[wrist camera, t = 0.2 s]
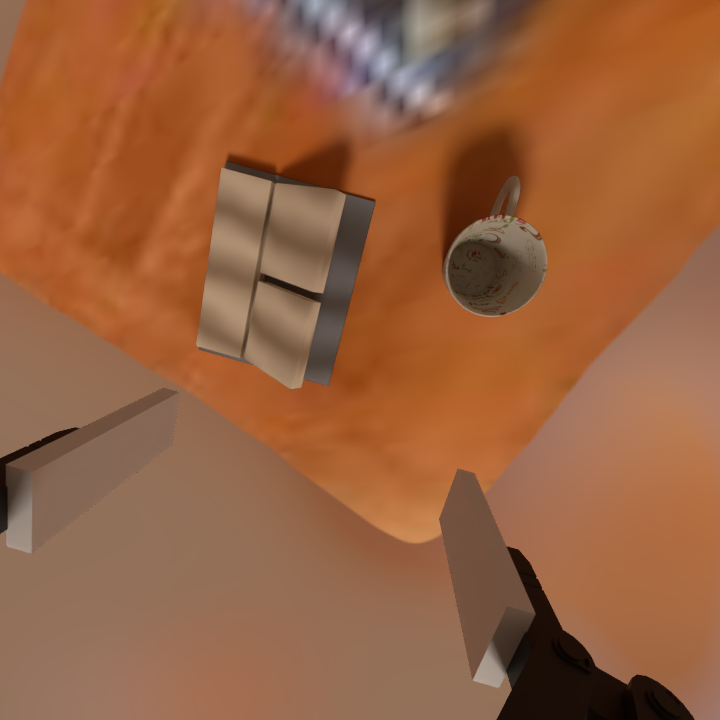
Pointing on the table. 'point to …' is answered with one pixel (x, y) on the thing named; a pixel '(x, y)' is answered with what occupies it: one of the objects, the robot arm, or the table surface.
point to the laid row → (242, 272)
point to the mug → (496, 260)
